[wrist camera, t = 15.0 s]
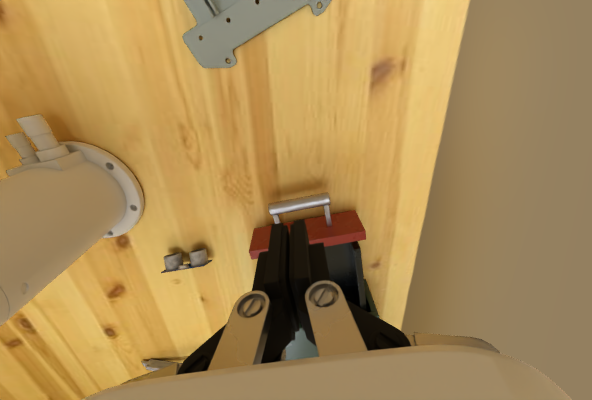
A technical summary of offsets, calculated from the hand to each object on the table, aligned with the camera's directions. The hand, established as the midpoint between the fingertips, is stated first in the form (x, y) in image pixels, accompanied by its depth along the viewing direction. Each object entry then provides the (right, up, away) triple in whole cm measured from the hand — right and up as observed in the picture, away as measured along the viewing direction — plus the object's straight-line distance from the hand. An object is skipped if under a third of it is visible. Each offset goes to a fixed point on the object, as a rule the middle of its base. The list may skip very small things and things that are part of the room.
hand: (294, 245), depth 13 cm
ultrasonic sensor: (-15, -5, +23) cm, 28 cm away
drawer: (+2, -6, +23) cm, 23 cm away
